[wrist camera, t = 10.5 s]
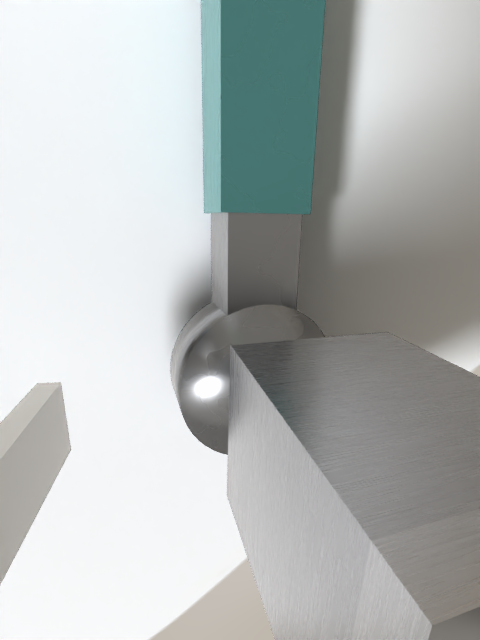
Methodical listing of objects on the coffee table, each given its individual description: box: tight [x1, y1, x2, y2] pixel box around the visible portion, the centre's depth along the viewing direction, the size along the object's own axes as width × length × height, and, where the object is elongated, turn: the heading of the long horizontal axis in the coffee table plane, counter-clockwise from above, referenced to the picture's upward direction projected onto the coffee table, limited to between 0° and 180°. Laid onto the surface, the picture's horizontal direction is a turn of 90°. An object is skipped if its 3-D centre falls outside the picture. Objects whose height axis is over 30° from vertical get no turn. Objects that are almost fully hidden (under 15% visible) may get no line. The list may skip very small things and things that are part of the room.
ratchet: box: [170, 0, 325, 455], centre depth 12 cm, size 21×7×6 cm, turn 179°
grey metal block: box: [227, 332, 480, 640], centre depth 9 cm, size 6×6×8 cm
